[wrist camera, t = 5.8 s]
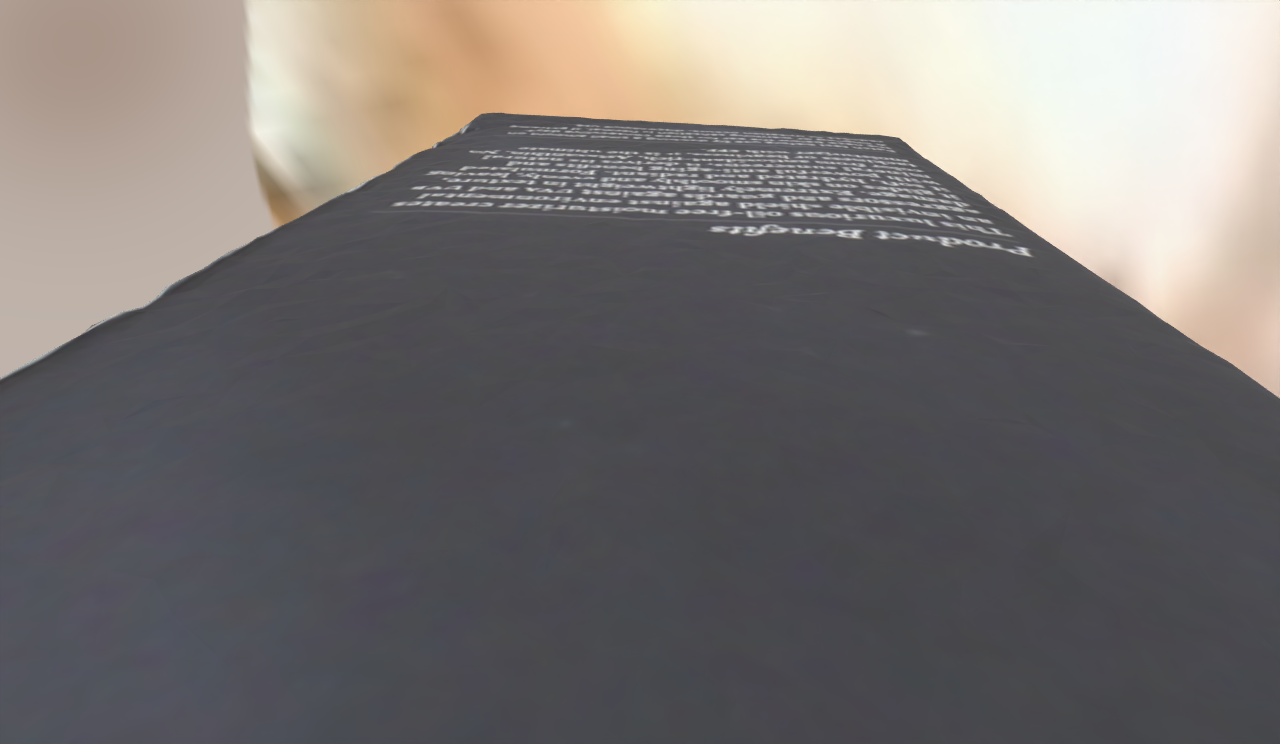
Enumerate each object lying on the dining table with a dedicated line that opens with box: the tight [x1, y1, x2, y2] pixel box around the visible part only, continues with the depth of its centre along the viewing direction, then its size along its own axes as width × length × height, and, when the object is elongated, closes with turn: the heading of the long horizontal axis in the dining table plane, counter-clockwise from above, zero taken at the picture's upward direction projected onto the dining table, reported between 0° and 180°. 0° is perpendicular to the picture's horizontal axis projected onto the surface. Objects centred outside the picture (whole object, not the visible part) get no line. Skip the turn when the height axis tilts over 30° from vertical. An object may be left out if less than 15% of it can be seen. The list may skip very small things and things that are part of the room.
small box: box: [0, 113, 1280, 744], centre depth 8 cm, size 11×6×10 cm, turn 178°
